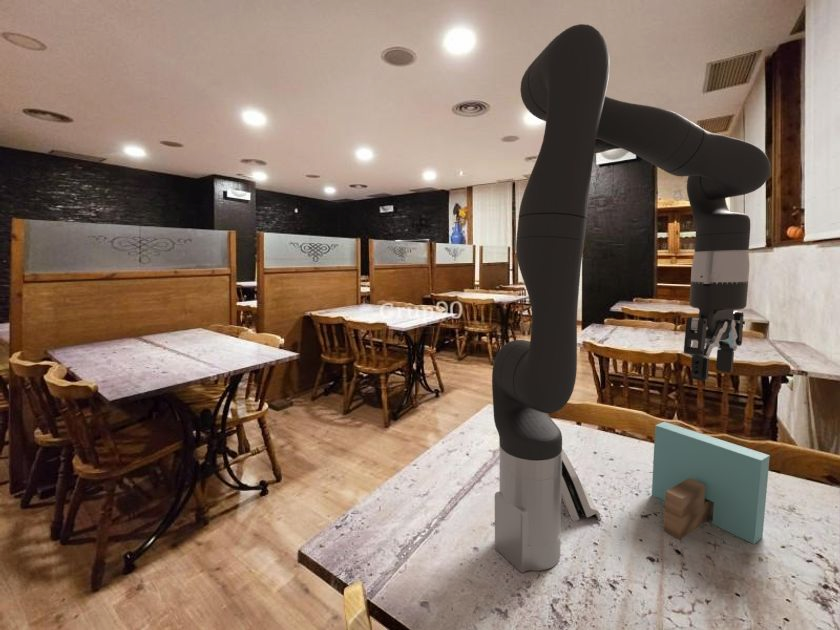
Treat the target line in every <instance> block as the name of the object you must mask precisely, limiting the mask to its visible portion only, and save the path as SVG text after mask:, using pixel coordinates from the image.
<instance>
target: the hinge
mask: <svg viewBox="0 0 840 630" xmlns="http://www.w3.org/2000/svg"><path fill="white" fill-rule="evenodd" d="M561 500H562V501H563V503H564V505H565V507H566V510H567V512H568V513H569V516H570V517H571V520H572V521H580V520H581V519H580V518H581V517H582V515H583V517H585V516H586V517H585V518H587V519H588V518H589V517H592V516H593V515H595V517H596V518H597V520H598V521H602V518H601V517H602V516H601V515H600V512H599V510H598V508H597V507H596V505H595V503H594V501H593V500H592V499H591V496H589V494H588V492H587V490H586V489H585V487H584V485H583V484H582V482H581V481H580V478H579V475H578V474H577V472H576V470H575V468H574V466H573V465H572V463H571V461H570V459H569V457H568V455H567V454H566V452H565V451H564V449H563V448H562V478H561ZM579 510H580V511H579ZM580 512H581V513H580ZM581 514H582V515H581Z"/></svg>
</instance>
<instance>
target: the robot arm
mask: <svg viewBox="0 0 840 630" xmlns="http://www.w3.org/2000/svg"><path fill="white" fill-rule="evenodd" d="M610 63H611V61H610V51H609V48H608V45H607V42H606V40H605V38H604V36H603V35H602V34H601V32H600V31H599V30H598V29H596V28H595V27H594V26H592V25H590V24H583V23H578V24H575V25H572V26H569V27H568V28H566V29H564V30H563V31H562V32H560V33H559V34H558V35H556V36H555V37H554V38H553V39H552V40H551V41H550V42H549V43H548V45H546V46H545V47H544V49H543V50H542V51H541V52H540V53H539V55H538V56H537V57H536V58H535V59H534V60H533V61H532V62H531V64H530V65H528V67H527V68H526V70H525V72H524V74H523V76H522V78H521V81H520V90H519V91H520V97H521V99H522V103H523V105H524V106H525V108H526V110H528V113H530V114H532V116H534V117H536V118H537V119H539V120H541V121H544V122H545V127H544V134H543V138H542V143H541V146H540V150H539V152H538V155H537V158H536V161H535V163H534V166H533V168H532V170H531V173H530V175H529V178H528V181H527V183H526V186H525V189H524V192H523V195H522V199H521V202H520V207H519V212H518V219H517V230H516V240H515V241H516V242H515V255H516V260H517V264H518V268H519V271H520V274H521V277H522V280H523V283H524V286H525V289H526V291H527V295H528V299H529V302H530V308H531V309H530V310H531V327H530V329H531V330H530V341H529V340H524V339H515V340H510V341H508V342H506V343H505V344H504V345H503V346H501V348H500V349H499V350H498V352H497V354H496V355H495V358H494V361H493V365H492V370H491V379H492V380H491V384H492V385H491V386H492V387H491V391H492V393H491V394H492V405H493V407H492V409H493V411H492V412H493V420H494V421H493V422H494V425H495V428H496V430H497V431H496V432H497V433H498V439H499V443H498V444H499V445H498V446H499V462H498V463H499V467H498V468H499V491H497V492H495V493H494V549H495V550H496V551H497V552H499V554H500V555H502V556H503V558H505V560H507V561H508V562H509V563H510V564H511V565H513V566H514V567H515V568H516V569H517V570H518V571H519V572H521V573H526V572H527V571H536V572H537V571H546V570H548V569H551V568H553V567H555V565H557V564H558V562H559V561H560V558H561V540H562V539H561V538H562V537H561V536H562V535H561V530H562V529H561V528H562V524H561V523H562V522H561V521H562V520H561V518H562V497H561V478H562V449H563V435H562V432H561V429H560V427H559V426H558V425H557V424H556V422H554V420H553V419H552V418H551V416H550V415H549V414H555V413H556V412H559V411H560V410H562V409H563V408H564V407H565V406H566V405H567V403H568V402H569V401H570V399H571V396H572V394H573V391H574V389H575V385H576V379H577V372H578V371H577V368H578V305H579V294H580V282H581V281H580V280H581V279H580V277H581V271H582V270H581V269H582V262H583V261H582V258H583V253H584V247H585V239H586V231H587V229H586V228H587V221H588V207H589V195H590V188H591V182H592V181H591V178H592V173H593V166H594V165H593V162H594V155H595V147H596V142H597V141H596V140H600V141H603V142H605V143H608V144H610V145H613V146H615V147H616V148H620V149H622V150H624V151H627V152H629V153H631V154H633V155H635V156H637V157H639V158H641V159H643V160H644V161H646V162H648V163H649V164H652V165H654V166H655V167H657V168H659V169H661V170H663V171H664V172H665V173H668V174H670V175H672V176H675V177H687V180H686V193H687V197H688V198H687V199H688V202H689V205H690V210H691V213H692V218H693V222H694V225H695V237H694V239H695V240H694V253H693V259H692V263H691V271H690V272H691V274H690V275H691V276H690V288H689V289H690V290H689V301H688V302H689V304H688V305H689V306H690V307H691V308H693V309H698V315H697V317H695V316H694V317H692V316H688V317H687V318H686V324H685V333H684V342H683V343H684V345H683V353H684V354H686V355H689V356H690V357H691V369H690V378H691V379H693V380H695V381H701V382H705V381H707V380H708V379H709V370H710V369H709V368H710V356H711V354H712V350H713V349H714V348H716V347H717V349H716V350H717V351H716V361H715V362H716V363H715V364H716V365H715V370H716V371H718V372H722V373H731V372H733V370H734V357H735V356H734V355H735V352H736V351H737V348H738V347H741V346H742V344H743V331H744V329H743V328H744V311H740V310H743V309H745V308H746V307H747V302H748V291H749V290H748V289H749V278H750V277H749V276H750V258H749V257H750V256H749V255H750V254H749V253H750V252H749V249H750V238H751V237H750V236H751V218H750V217H749V215H748V214H746V213H742V212H735V211H734V212H733V211H730V210H729V208H728V207H729V206H728V205H727V200H726V199H727V198H732V197H733V198H734V197H738V196H745V195H747V194H751V193H753V192H755V191H757V190H758V189H760V188H761V187H762V186H764V184H765V183H766V182H767V180H768V178H769V177H770V174H771V163H770V160H769V157H768V156H767V154H766V153H765V151H764V150H763V149H761V148H760V147H758V146H757V145H755V144H753V143H751V142H748V141H745V140H742V139H738V138H735V137H731V136H726V135H724V134H719V133H714V132H710V131H708V130H706V129H704V128H703V127H702V126H699V125H698V124H696V123H694V122H693V121H691V120H690V119H688V118H686V117H684V116H683V115H681V114H679V113H677V112H674V111H673V110H669V109H666V108H661V107H656V106H651V105H647V104H646V105H644V104H639V103H632V102H627V101H622V100H618V99H615V98H611V97H608V96H606V93H607V90H608V89H607V88H608V83H609V78H610V72H611V71H610V67H611V66H610ZM737 310H739V311H737Z"/></svg>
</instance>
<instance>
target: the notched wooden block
mask: <svg viewBox="0 0 840 630" xmlns="http://www.w3.org/2000/svg"><path fill="white" fill-rule="evenodd" d="M705 486H706V485H705V484H703V483H700V482H698V481H696V480H693V479H691V478H688V479H687V480H685V481H683V482H681V483H680V484H678V485H676V486H674V487H673V488H671V489H669V490H667V491H666V495H665V501H664V516H663V518H664V519H663V531H664V532H666V533H668V534H669V535H671V536H673V537H674V538H677V539H679V540H680V539H682V538H683V537H685V536H686V535H688V534H689V533H690V532H692V531H694V530H695V529H697V528H698V527H699V526H701V525H702V524H703V523H705V522H707V521H708V520H710V519H711V518H713V511H714V502H712V501H710V500H708V499H705Z"/></svg>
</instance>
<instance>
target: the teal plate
mask: <svg viewBox="0 0 840 630" xmlns="http://www.w3.org/2000/svg"><path fill="white" fill-rule="evenodd" d="M770 457H771V456H770V454H767V453H764V452H760V451H757V450H754V449H751V448H749V447H744V446H742V445H739V444H735V443H732V442H728V441H726V440H723V439H721V438H720V439H719V438H716V437H714V436H710V435H708V434H704V433H701V432H698V431H694V430H691V429H689V428H685V427H681V426H679V425H676V424H672V423H669V422H666V421H663V422H660V423H658V424H655V425H654V443H653V464H652V484H651V496H653V497H655V498H658V499H659V500H662V501H664V502H665V495H666V491H667V490H669V489H671V488H673V487H674V486H676V485H678V484H680V483H681V482H683V481H685V480H687V479H688V478H691V479H693V480H696V481H698V482H700V483H703V484H705V485H706V486H705V499H708V500H710V501H712V502H714V511H713V516H712V525H713V526H715V527H717V528H719V529H722V530H724V531H726V532H728V533H731V534H732V535H734V536H736V537H738V538H740V539H743V540H744V541H747V542H749V543H750V544H752V545H756V543H758V542H759V541H760V540H761V539H763V535H764V534H763V533H764V523H765V511H766V502H767V493H768V492H767V491H768V489H767V488H768V481H769V480H768V478H769V471H770V470H769V469H770V459H771V458H770Z"/></svg>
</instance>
